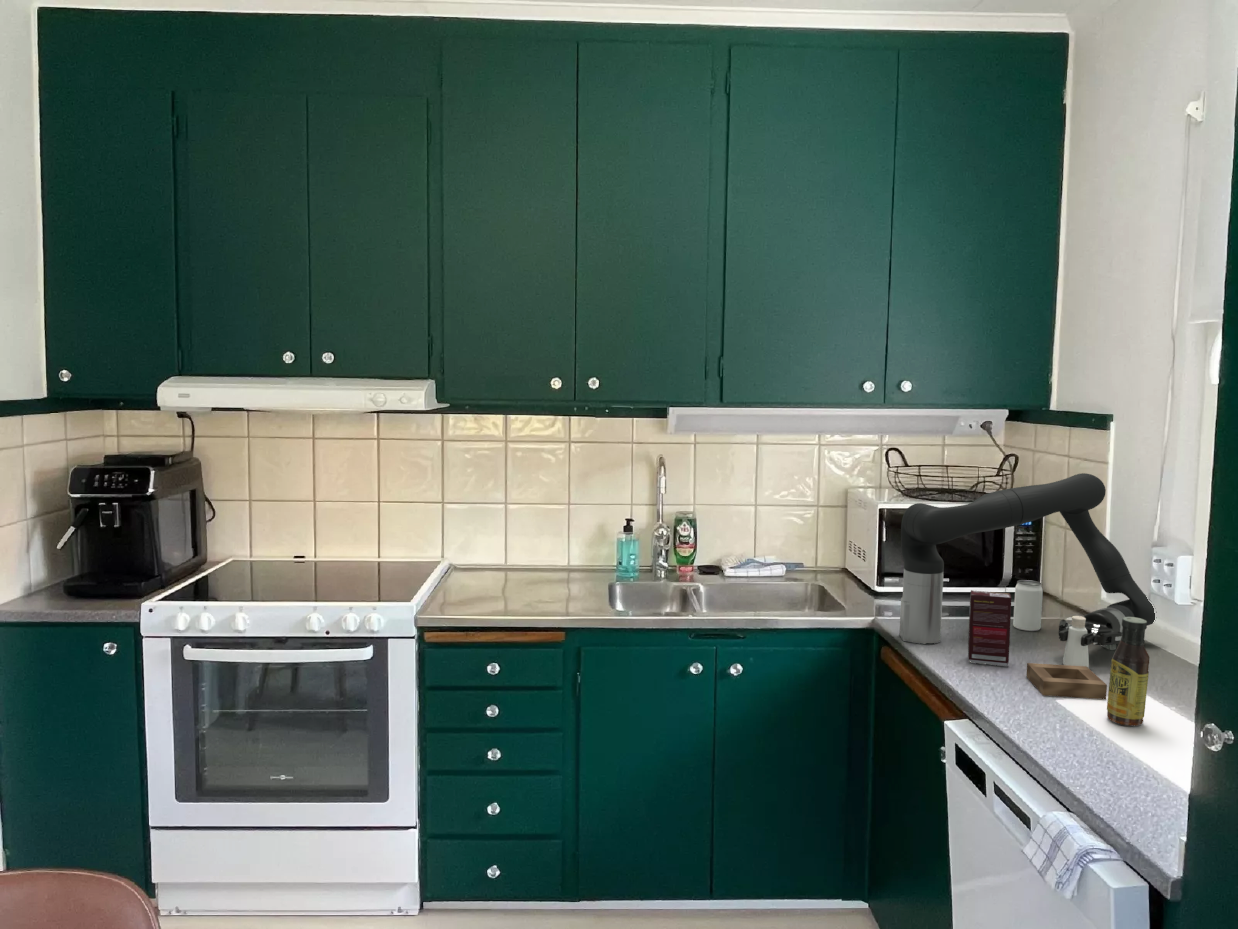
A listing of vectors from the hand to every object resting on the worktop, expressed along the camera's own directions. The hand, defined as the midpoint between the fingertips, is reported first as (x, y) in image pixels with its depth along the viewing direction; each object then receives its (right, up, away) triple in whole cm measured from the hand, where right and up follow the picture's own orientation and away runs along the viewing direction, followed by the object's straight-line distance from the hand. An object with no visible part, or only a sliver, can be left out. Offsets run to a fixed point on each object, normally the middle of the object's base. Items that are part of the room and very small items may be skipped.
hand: (1072, 639), depth 204 cm
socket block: (-7, -8, -11) cm, 15 cm away
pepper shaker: (+2, -7, +3) cm, 7 cm away
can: (+5, -4, +34) cm, 35 cm away
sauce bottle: (-5, -10, -30) cm, 32 cm away
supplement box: (-17, -6, +5) cm, 19 cm away
